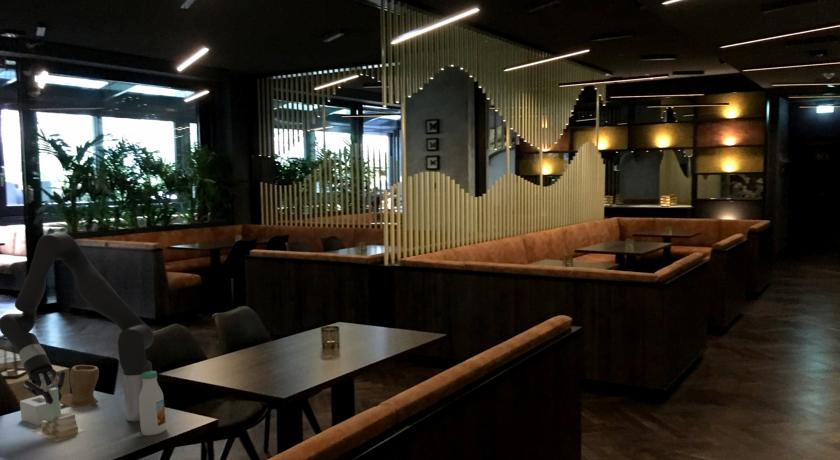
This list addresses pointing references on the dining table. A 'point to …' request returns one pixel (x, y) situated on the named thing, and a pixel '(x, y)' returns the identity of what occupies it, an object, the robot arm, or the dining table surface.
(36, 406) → the sheet stand
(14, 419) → the dining table surface
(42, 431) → the rack
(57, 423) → the offcut stack
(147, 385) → the milk bottle
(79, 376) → the stone cup
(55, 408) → the tall sheet
